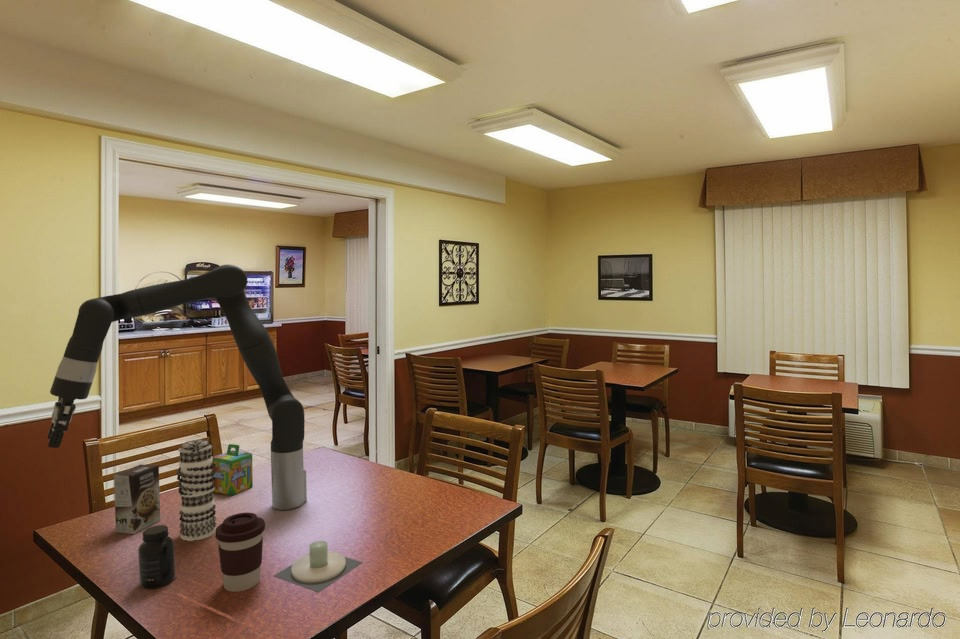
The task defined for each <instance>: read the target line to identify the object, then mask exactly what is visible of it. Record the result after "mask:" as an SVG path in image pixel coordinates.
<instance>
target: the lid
mask: <svg viewBox="0 0 960 639" xmlns="http://www.w3.org/2000/svg"><path fill="white" fill-rule="evenodd" d="M328 545H329V544H328V542H327V541H324V540H316V541H313V542H311V543H310V544H309V546H308V548H309V553H308V554H305V555H303V556H301V557H299V558H298V559H296V560H295V561H294V562H293V565H292V564H291V565H292V568H291V572H292V577H293V578H294V579H295V580H297V581H299V582H303V583H319V582H324V581H327V580H330V579H333V578H335V577H337V576H338V575H340V574H341V573H342V572H343V571H344V569H345V567H346V560H345V557H346V556H344V555H343V554H341V553H340V552H338V551H337V552H336V551H331V550H328Z"/></svg>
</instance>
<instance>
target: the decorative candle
mask: <svg viewBox="0 0 960 639" xmlns="http://www.w3.org/2000/svg"><path fill="white" fill-rule="evenodd" d="M212 448H213V444H212V443H209V441H208V440H206V439H193V440H189V441H188V440H187V441H186V442H184V443H182V445H181V447H180V448H178V450H177V451H178V452H179V462H178V465H179V467H178V468H177V469H176V474H177V477H176V480H177V481H178V483H177V484H178V485H177V487H178V490H177V493H178V495H179V496H181V497H180V500H181V503H180V510H179V515H180V516H179V517H180V518H179V521H180V523H179V528H180V529H179V530H180V531H179V533H180V539H181V538H182V539H183V540H182V539H181V540H182V541H185V540H187V541H186V542H195V541H194V540H196V541H201V540H204V539H207V538H209V537H212V536H213V535H215V530H216V528H217V527H216V526H217V522H216V521H217V516H215V515H216V513H217V511H216V507H217V506H216V504H215V498H214V492H213V490H214V488H215V484H212V481H214V480H215V477H213V475H214V474H215V471H213V470H212V468H214V467H215V466H216V465H215V464H214V463H213V462H215V459H213V458H212V457H213V455H212V453H213V452H212Z"/></svg>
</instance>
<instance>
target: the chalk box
mask: <svg viewBox="0 0 960 639" xmlns="http://www.w3.org/2000/svg"><path fill="white" fill-rule="evenodd" d="M227 446H228V447H227V450H226V452H224V453H221V454H218V455H214V456H212V458H213V459H215V462H213V463H214V464H215V465H216V466H215V467H214V468H212V470H213V471H215V474H214V475H213V477H215V480H214V481H212V484H215V488H214V490H213V493H216V494H219V495H225V496H229V497H232V496H234V495H237V494H239V493H241V492H243V491H247V490H248V489H250V488H252V487H253V486H254V485H253V480H254V479H253V454H252V452H246V451H241V450H240V445H239V444H234V443H229V444H228V445H227ZM232 449H234V450H232Z"/></svg>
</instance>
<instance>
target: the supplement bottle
mask: <svg viewBox="0 0 960 639" xmlns="http://www.w3.org/2000/svg"><path fill="white" fill-rule="evenodd" d="M142 531H143V532H142V543H141V544H139V546H138V550H137V551H138V552H137V554H138V568H139V570H138V571H139V584H140V586H141V587H142V588H143V589H145V590H151V589H152V590H153V589H157V588H161V587H165V586H166V585H168V584H170V583H171V582H172V581H173V580H174V579H175V577H176V557H175V543H174V539H173V538H172V537H170V536H169V527H168V526H167V525H166V524H165V525H164V524H157V525H154V526H149V527H147V528H145V529H143V530H142Z"/></svg>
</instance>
